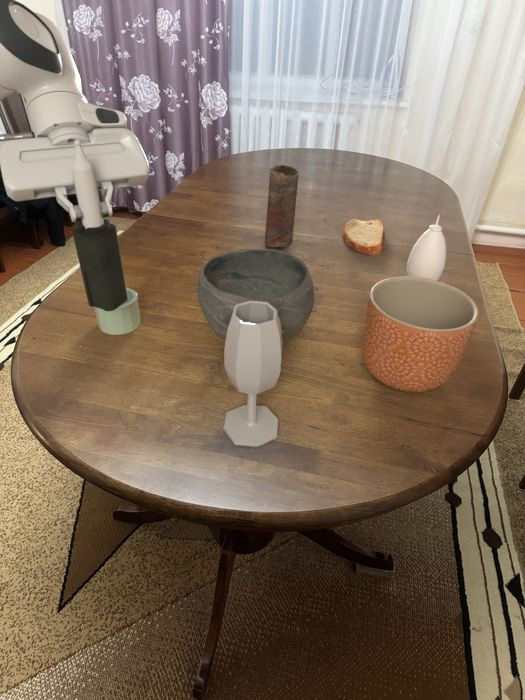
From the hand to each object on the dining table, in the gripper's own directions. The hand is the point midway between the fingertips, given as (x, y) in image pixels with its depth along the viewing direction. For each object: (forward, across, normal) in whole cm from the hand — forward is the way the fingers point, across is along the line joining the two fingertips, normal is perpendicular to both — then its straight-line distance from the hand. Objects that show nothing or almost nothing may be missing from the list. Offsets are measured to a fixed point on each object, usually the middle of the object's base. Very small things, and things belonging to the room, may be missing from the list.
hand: (93, 217), depth 67 cm
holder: (+10, +3, +28) cm, 30 cm away
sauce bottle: (+22, +69, +17) cm, 75 cm away
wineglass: (+37, +13, +1) cm, 39 cm away
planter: (+37, +44, +1) cm, 58 cm away
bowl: (+22, +25, +16) cm, 37 cm away
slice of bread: (+2, +77, +37) cm, 85 cm away
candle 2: (-3, +52, +41) cm, 66 cm away
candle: (+10, 0, +11) cm, 15 cm away
